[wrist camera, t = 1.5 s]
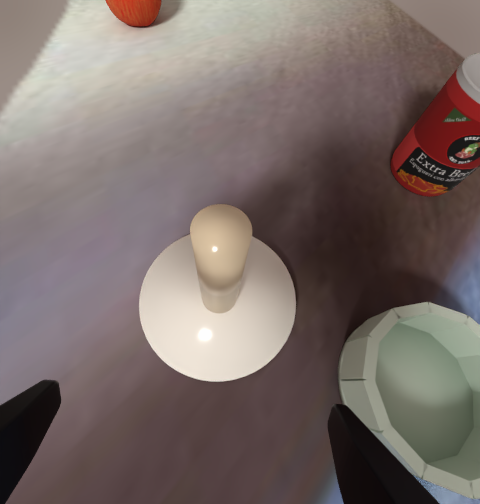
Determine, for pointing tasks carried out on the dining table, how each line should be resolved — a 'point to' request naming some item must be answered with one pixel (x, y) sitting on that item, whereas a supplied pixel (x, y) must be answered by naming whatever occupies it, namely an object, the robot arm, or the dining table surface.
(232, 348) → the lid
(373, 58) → the dining table surface
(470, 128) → the canned food
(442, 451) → the bowl
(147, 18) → the apple
